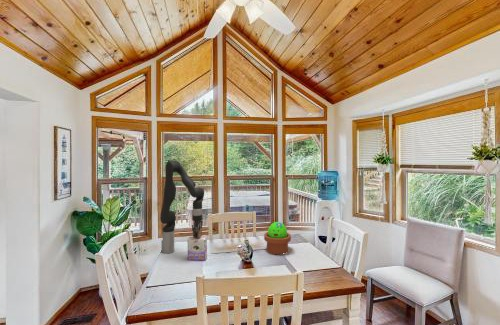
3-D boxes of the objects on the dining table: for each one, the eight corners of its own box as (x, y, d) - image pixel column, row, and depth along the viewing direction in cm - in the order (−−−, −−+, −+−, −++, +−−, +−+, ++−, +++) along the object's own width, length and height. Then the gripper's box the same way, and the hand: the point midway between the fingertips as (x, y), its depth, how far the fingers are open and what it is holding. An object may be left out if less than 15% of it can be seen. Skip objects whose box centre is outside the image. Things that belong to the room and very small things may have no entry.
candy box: (207, 258, 191) (207, 237, 191) (205, 261, 185) (205, 239, 185) (190, 257, 192) (190, 236, 192) (187, 260, 186) (187, 238, 186)
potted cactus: (267, 245, 219) (267, 217, 219) (292, 247, 214) (292, 219, 213) (261, 254, 198) (261, 223, 198) (289, 257, 192) (289, 225, 192)
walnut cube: (193, 237, 186) (193, 230, 186) (196, 235, 191) (196, 229, 191) (199, 238, 185) (199, 231, 185) (201, 235, 190) (201, 229, 190)
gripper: (197, 211, 196) (197, 232, 196) (188, 215, 182) (188, 238, 182) (205, 212, 194) (205, 233, 194) (197, 216, 180) (197, 239, 180)
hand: (197, 236), depth 188 cm, fingers closed on walnut cube, 5 cm apart
